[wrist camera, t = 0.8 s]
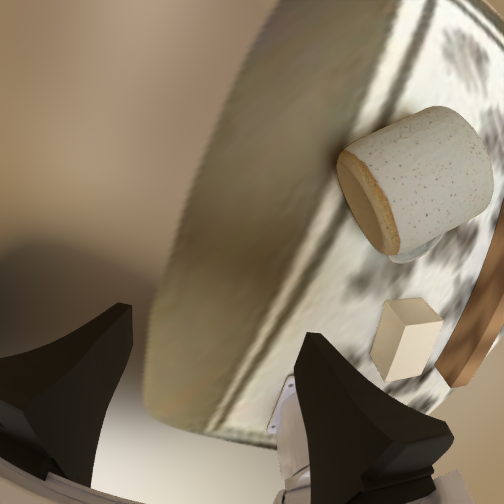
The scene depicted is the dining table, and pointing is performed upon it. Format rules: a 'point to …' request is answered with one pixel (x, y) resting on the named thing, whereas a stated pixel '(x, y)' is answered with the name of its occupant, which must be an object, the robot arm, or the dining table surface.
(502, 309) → the walnut rail
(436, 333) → the beige rectangular block
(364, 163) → the ceramic mug
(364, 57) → the dining table surface
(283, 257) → the dining table surface
